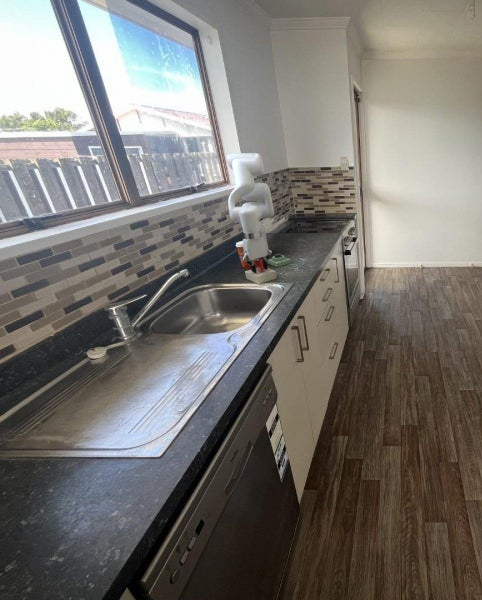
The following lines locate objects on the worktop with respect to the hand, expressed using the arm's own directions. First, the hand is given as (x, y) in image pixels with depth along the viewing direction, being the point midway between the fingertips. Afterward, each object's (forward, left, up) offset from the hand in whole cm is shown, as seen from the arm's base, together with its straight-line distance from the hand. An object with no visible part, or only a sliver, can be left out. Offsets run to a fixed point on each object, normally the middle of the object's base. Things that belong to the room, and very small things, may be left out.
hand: (259, 270), depth 166 cm
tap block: (0, 0, -4) cm, 4 cm away
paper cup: (-23, +5, -5) cm, 24 cm away
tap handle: (0, 0, 0) cm, 0 cm away
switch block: (-14, +19, -4) cm, 24 cm away
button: (-14, +19, -1) cm, 24 cm away
